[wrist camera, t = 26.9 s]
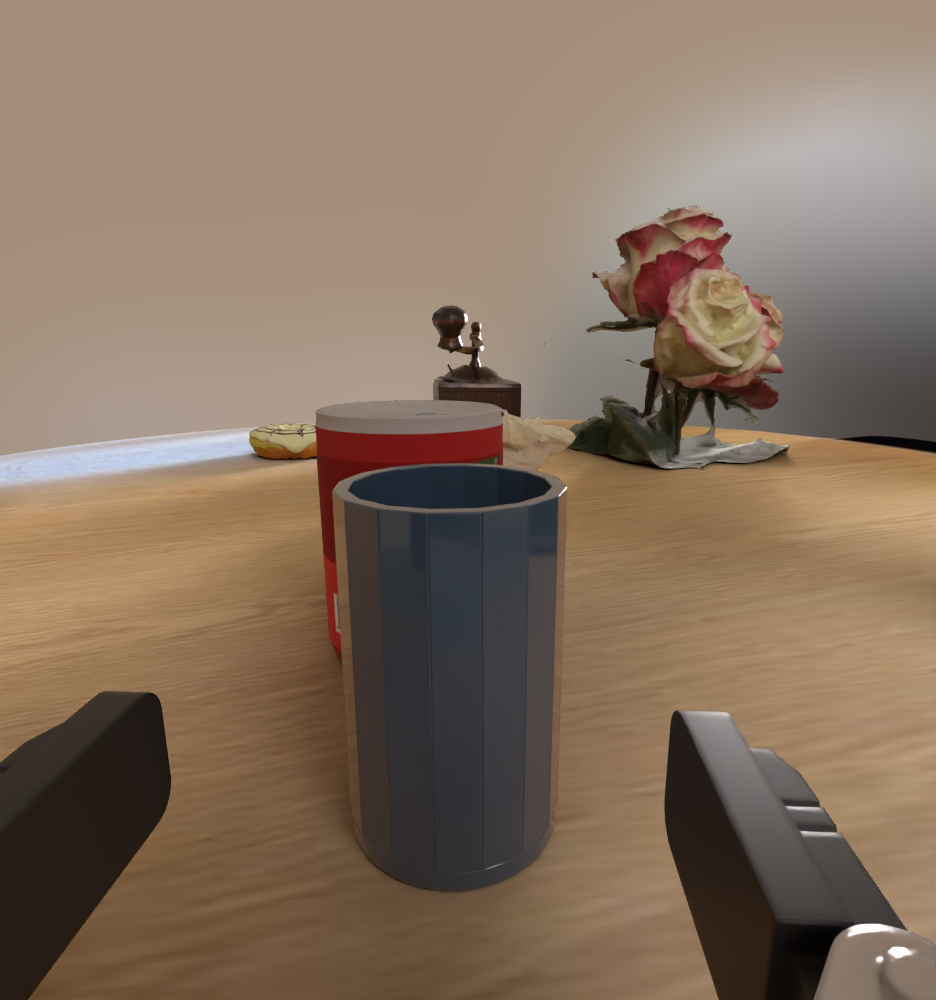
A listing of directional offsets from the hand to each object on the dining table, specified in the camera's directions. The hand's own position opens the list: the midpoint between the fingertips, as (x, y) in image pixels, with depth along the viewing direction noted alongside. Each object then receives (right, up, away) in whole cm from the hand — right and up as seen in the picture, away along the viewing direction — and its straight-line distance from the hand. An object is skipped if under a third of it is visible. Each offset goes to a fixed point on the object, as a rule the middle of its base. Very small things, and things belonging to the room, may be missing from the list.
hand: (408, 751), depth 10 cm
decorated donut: (-22, +10, +72) cm, 76 cm away
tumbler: (0, -5, +9) cm, 11 cm away
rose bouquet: (+29, +10, +74) cm, 80 cm away
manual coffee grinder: (+2, +9, +70) cm, 71 cm away
